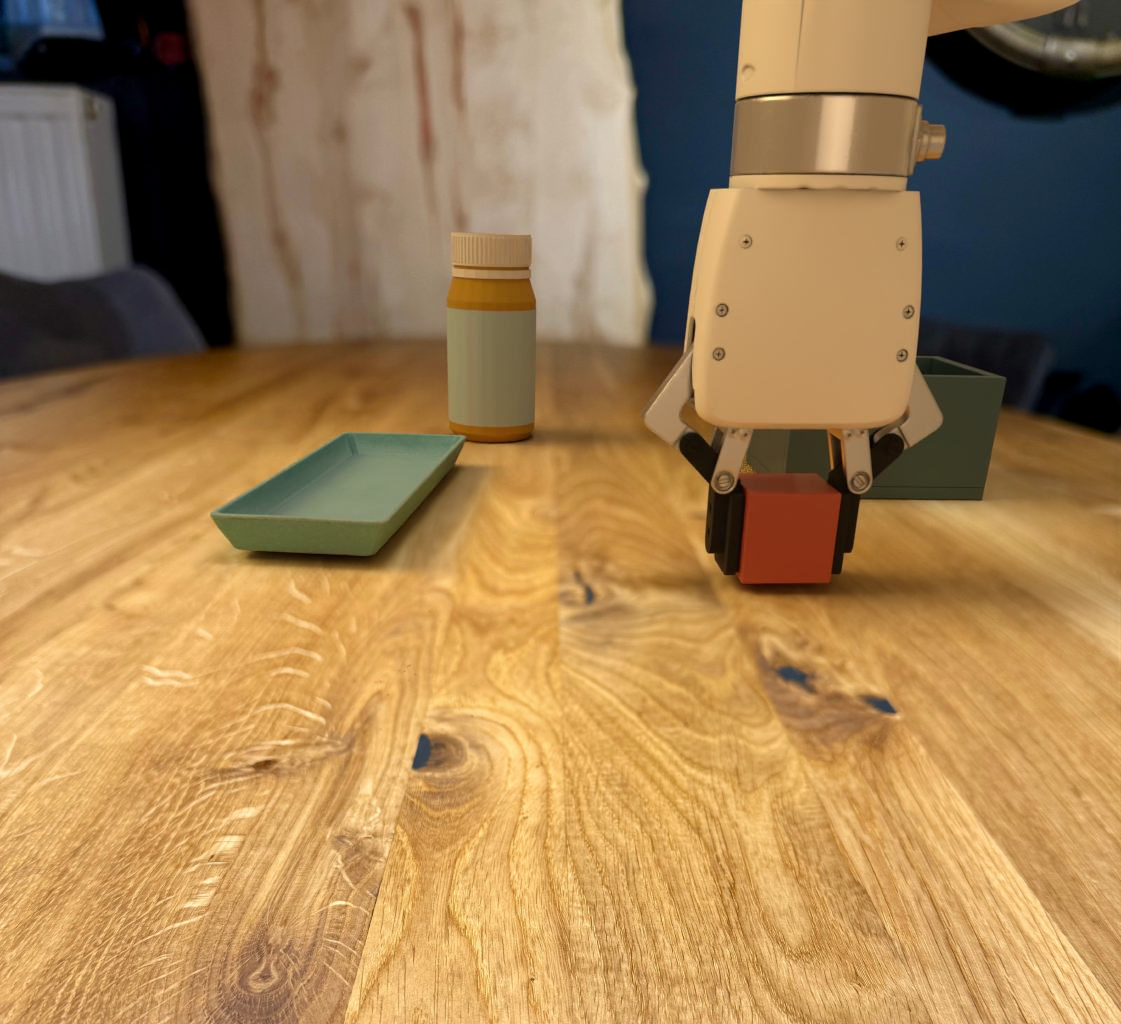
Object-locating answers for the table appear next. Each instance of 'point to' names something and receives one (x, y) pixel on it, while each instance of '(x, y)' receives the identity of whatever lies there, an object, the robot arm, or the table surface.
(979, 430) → the chest
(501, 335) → the bottle
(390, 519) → the teal serving tray
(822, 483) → the block
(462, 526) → the table surface
